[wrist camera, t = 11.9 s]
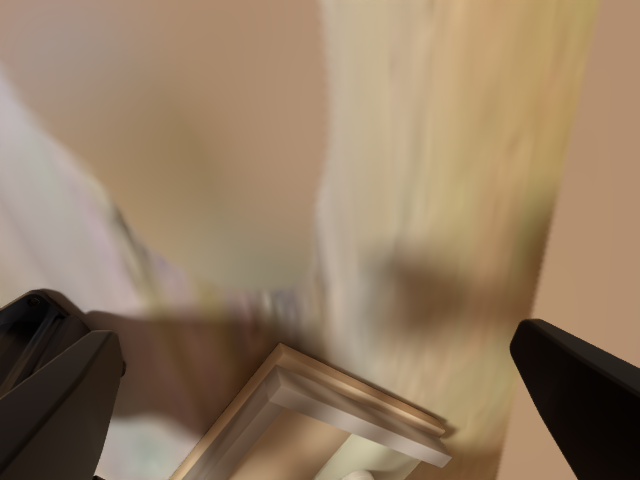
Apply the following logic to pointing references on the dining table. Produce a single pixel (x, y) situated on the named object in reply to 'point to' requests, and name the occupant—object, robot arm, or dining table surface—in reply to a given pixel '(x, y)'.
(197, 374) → the dining table surface
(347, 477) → the beige tall round piece
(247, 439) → the rail board
